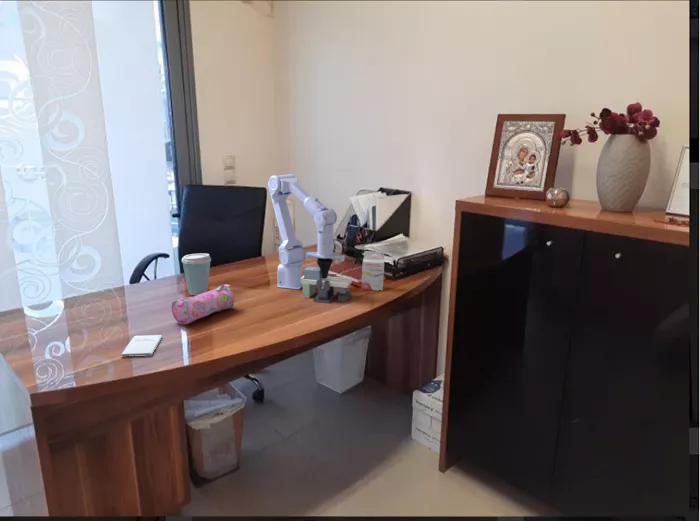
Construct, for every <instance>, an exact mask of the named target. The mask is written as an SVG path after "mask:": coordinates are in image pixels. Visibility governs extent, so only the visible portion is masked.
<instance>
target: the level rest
mask: <svg viewBox="0 0 700 521" xmlns="http://www.w3.org/2000/svg"><path fill="white" fill-rule="evenodd" d="M314 294H316V285H313V284H303V286H302V298H304V299H305V298H306V299H310V298H311V297H312V296H313V295H314Z"/></svg>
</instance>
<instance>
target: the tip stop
mask: <svg viewBox="0 0 700 521" xmlns="http://www.w3.org/2000/svg"><path fill="white" fill-rule="evenodd" d="M351 296H352V291H351V290H347V292H346V293H345V294H343V293H339V295H337V302H340V303H346V302H348V300H349V299H350V298H351Z"/></svg>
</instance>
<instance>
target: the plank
mask: <svg viewBox="0 0 700 521" xmlns="http://www.w3.org/2000/svg"><path fill="white" fill-rule="evenodd" d="M321 280H322V287H321V289H324V282H325V281H330V286H334V288H339V294H341V293H343V294H345V293H346V292H347V291H349V289H350V285H351V284H352V283H353V278H351V277H350V278H348V277H342V276H336V277H331V276H330V275H329V276H327V278H326V279H324V278H322V279H321ZM301 283H303V284H313V285H315V286H317V280H309V279H304V275H302V277H301Z"/></svg>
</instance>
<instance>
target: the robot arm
mask: <svg viewBox="0 0 700 521" xmlns="http://www.w3.org/2000/svg"><path fill="white" fill-rule="evenodd" d="M267 186H268V187H267V188H268V191H269V195H270V198H271V203H272V206H273V207H272V208H273V210H274V214H275V219H276V221H277V226H278V230H279V234H280V237H281V240H282V241H281V244H280V245H279V247H278V248H277V249H278V252H279V254H278V258H279V261H280V263H279V265H278V266H277V274H276V276H277V279H276V281H277V282H276V283H277V285H276V288H283V289H289V290H290V289H293V290H300V289H302V288H303V283H301V277H303V264H304V261H306V259H317V260H316V263H317V265H318V266H317V267H319V268H320V270H321V273H322V278H324V279H326V278H327V276H328V274H329V271H330V268H331V266H332V264H333V262H334V261H340V262H344V261H345V258H346V257H345V256H346V255H345V254H339V253H335V252H334V224H336V222H337V221H338V220H337V218H338V216H337V213H336V212H335V210H334V209H333V208H328V207H327V206H326V205H324V204H323V203H322V202H321V201H320V200H319V197H317V196H310V194H309V193H308V192H307V191H306V190H305V189H304V188H303V186H301V184H300V183H299V179H298V177H296V175H295V174H293V173H289V174H281V175H271V176H270V177H269V180H268V182H267ZM291 194H292V195H293V196H295V197H296V198H297V199H299V201H300V202H302V203H303V209H304V210H305V211H307V213H308V214H310V216H312V218H313V220H314V221H313V222H314V223H315V226H316V229H315V230H316V231H317V251H307V252H306V249H305V248H304V245H303V242H302V241H301V240H298V239H297V238H296V237H297V236H296V233H295V230H294V225H293V221H292V218H291V215H290V211H289V207H288V203H287V200H288V198H289V197H290V195H291Z"/></svg>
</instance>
